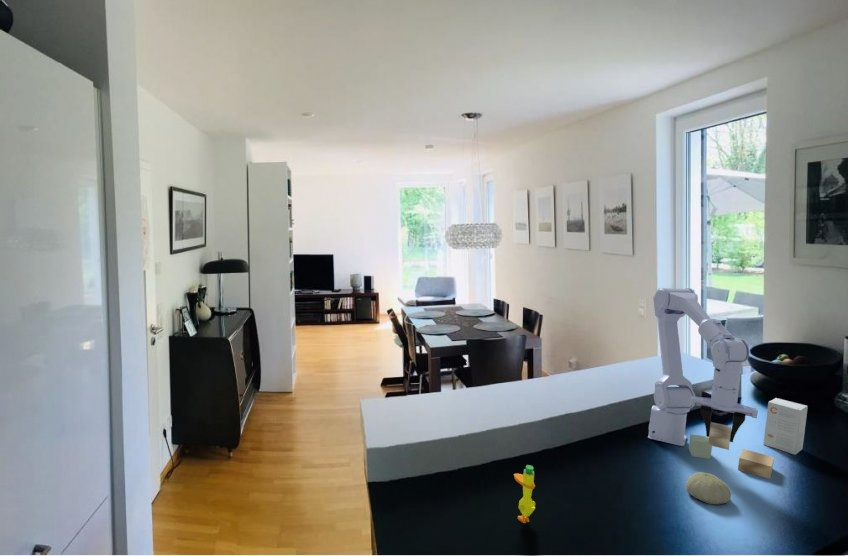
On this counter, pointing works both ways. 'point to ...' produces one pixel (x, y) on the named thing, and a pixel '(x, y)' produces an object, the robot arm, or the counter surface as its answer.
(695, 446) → the sage cube
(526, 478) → the toy figure
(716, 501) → the sea urchin shell
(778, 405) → the small box
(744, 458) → the oak slab
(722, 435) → the birch cube
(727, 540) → the counter surface
